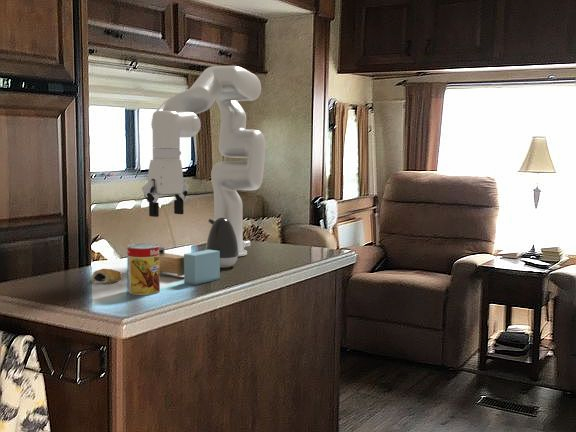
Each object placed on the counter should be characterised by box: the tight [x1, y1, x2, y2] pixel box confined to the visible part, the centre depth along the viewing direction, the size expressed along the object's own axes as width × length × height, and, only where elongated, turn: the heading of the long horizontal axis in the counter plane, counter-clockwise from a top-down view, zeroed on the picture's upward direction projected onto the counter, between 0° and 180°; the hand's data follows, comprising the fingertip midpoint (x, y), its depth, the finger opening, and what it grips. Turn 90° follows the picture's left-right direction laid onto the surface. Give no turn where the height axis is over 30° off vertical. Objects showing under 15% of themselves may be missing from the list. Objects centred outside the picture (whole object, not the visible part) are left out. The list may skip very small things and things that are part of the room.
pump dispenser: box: [205, 218, 239, 269], centre depth 215 cm, size 10×10×15 cm
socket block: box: [183, 249, 221, 286], centre depth 193 cm, size 10×4×8 cm, turn 144°
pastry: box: [89, 268, 122, 285], centre depth 193 cm, size 9×7×4 cm
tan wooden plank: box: [159, 252, 184, 277], centre depth 202 cm, size 5×20×5 cm, turn 54°
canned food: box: [127, 242, 161, 296], centre depth 179 cm, size 8×8×12 cm
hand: (166, 215), depth 199 cm, fingers open, 9 cm apart
